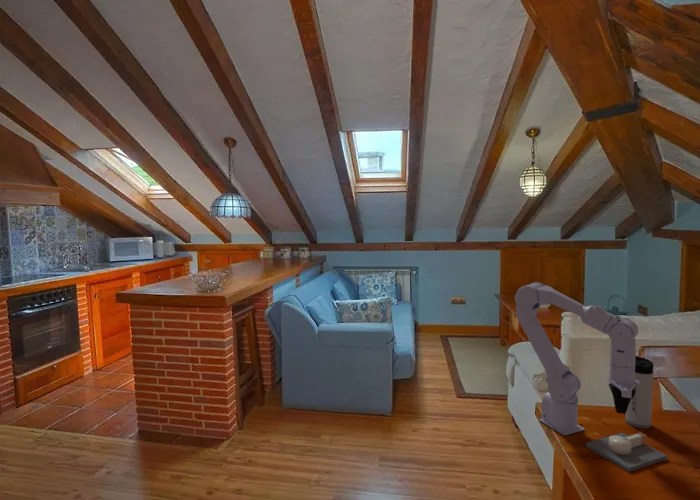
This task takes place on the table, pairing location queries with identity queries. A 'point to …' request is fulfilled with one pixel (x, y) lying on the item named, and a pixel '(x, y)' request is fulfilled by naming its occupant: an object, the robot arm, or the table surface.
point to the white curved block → (626, 443)
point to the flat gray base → (631, 462)
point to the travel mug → (641, 395)
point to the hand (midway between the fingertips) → (620, 412)
